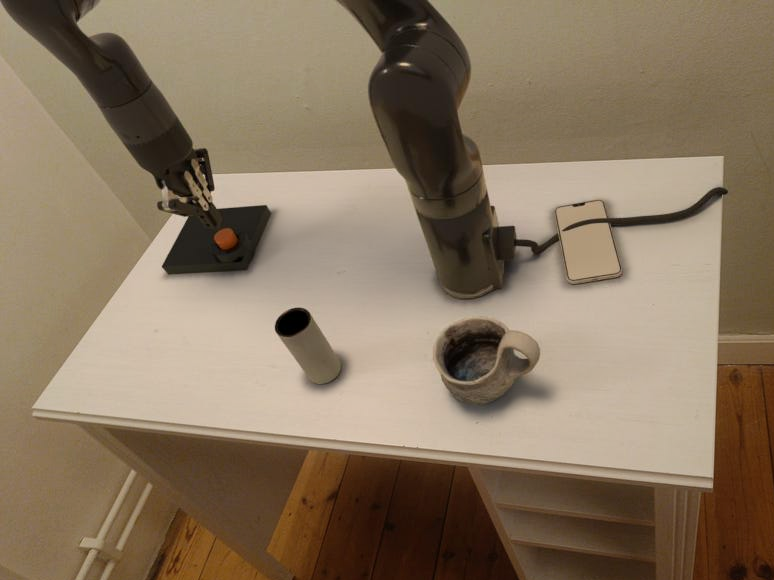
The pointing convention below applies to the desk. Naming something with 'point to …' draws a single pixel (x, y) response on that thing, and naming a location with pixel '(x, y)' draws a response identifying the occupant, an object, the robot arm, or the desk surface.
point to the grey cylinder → (308, 345)
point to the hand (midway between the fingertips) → (216, 225)
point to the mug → (482, 358)
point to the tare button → (226, 239)
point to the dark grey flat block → (202, 251)
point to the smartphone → (587, 243)
